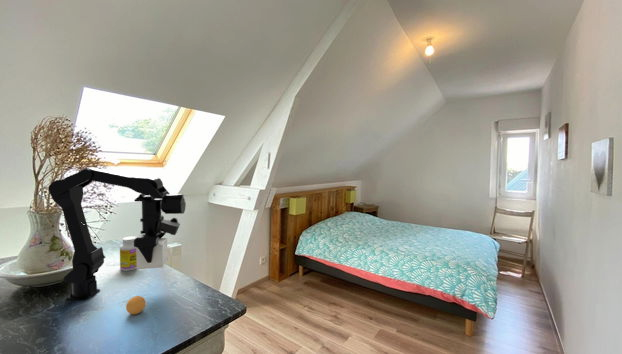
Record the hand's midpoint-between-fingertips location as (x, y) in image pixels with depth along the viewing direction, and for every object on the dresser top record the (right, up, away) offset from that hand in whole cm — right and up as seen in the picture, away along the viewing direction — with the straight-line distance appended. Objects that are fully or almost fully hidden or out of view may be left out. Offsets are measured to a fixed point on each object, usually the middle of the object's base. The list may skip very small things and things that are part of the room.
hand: (152, 258), depth 94 cm
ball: (+2, -11, -12) cm, 16 cm away
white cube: (0, -2, 0) cm, 2 cm away
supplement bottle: (-21, -10, +19) cm, 30 cm away
